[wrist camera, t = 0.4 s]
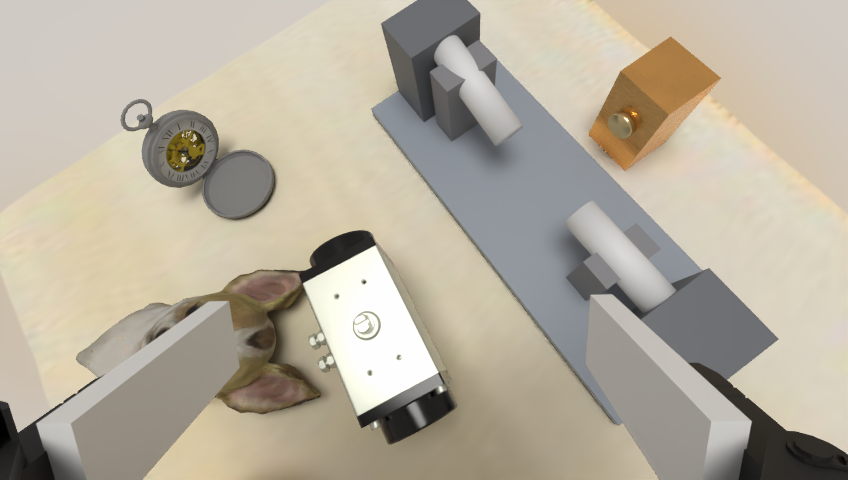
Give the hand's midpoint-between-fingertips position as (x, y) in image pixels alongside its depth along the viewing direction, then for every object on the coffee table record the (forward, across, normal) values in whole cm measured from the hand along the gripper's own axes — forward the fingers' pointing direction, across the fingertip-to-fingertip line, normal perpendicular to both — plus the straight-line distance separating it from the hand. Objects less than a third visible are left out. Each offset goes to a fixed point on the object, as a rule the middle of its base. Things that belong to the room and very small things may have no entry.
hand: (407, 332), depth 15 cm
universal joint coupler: (+23, -17, -6) cm, 29 cm away
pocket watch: (+24, +18, -4) cm, 30 cm away
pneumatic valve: (+16, +2, +9) cm, 18 cm away
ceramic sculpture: (+16, +16, +9) cm, 24 cm away
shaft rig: (+20, -9, -1) cm, 22 cm away
